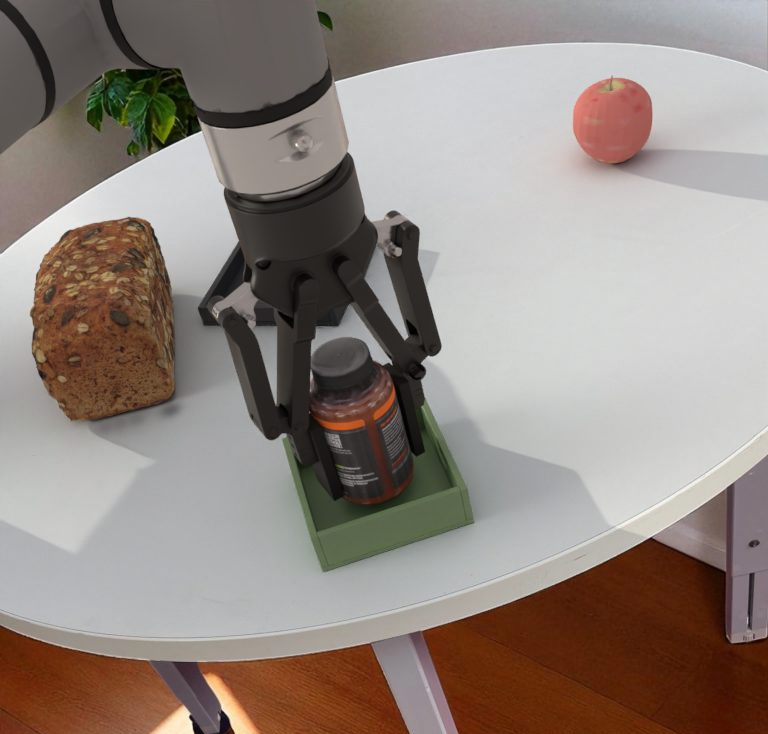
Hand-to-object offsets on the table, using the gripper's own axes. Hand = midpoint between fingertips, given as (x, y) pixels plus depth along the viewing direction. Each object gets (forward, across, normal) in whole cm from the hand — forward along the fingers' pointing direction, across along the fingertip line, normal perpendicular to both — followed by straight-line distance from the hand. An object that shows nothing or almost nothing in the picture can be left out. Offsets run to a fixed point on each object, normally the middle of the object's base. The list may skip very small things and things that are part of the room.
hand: (371, 465), depth 75 cm
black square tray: (+3, +7, +30) cm, 31 cm away
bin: (+3, 0, 0) cm, 3 cm away
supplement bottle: (+2, 0, 0) cm, 2 cm away
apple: (+3, +41, +25) cm, 48 cm away
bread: (+3, -9, +31) cm, 33 cm away
